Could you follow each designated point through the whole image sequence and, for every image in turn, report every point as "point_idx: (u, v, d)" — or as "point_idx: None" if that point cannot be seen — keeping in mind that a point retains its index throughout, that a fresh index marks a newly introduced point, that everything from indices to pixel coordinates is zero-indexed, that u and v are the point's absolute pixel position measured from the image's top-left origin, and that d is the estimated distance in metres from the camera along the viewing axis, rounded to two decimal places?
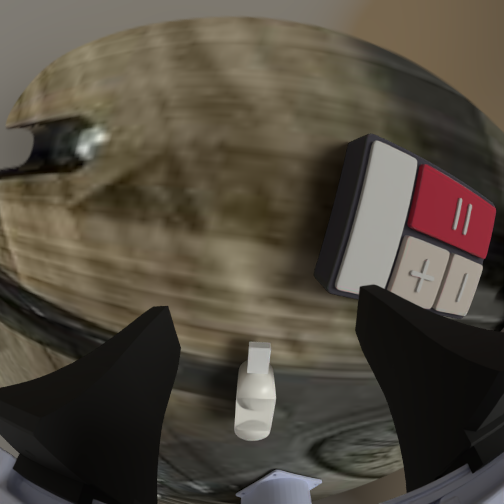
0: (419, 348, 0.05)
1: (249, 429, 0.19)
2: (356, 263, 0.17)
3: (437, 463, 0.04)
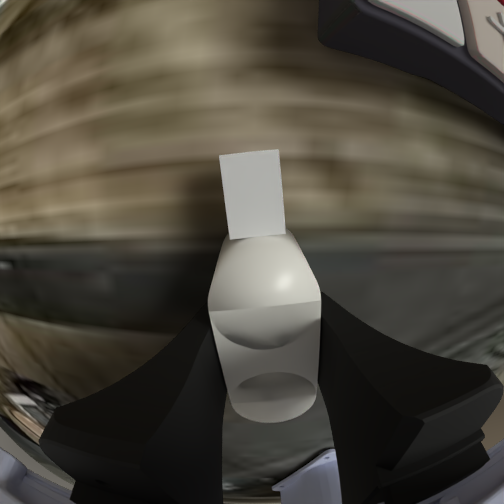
0: (344, 366, 0.06)
1: (266, 398, 0.08)
2: None
3: (359, 492, 0.04)
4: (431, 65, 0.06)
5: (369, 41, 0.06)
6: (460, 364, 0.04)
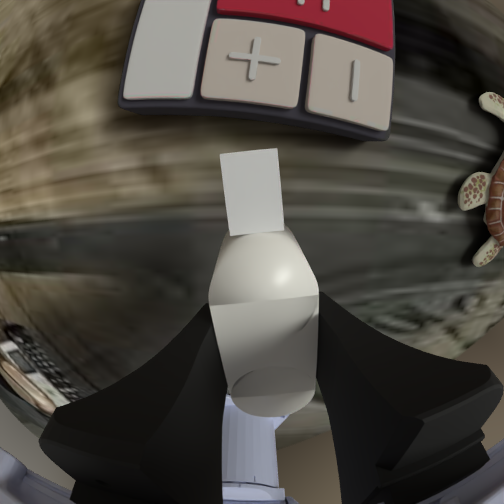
0: (344, 366, 0.06)
1: (266, 392, 0.09)
2: (144, 64, 0.11)
3: (359, 492, 0.04)
4: (190, 112, 0.13)
5: (148, 112, 0.13)
6: (460, 364, 0.04)
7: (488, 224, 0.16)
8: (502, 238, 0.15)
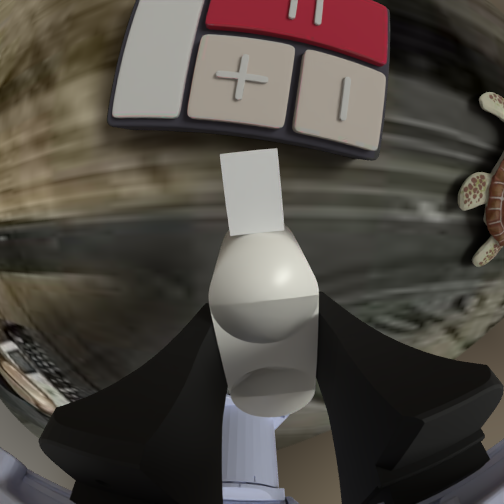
0: (344, 366, 0.06)
1: (266, 392, 0.09)
2: (132, 81, 0.11)
3: (359, 492, 0.04)
4: (178, 130, 0.14)
5: (137, 128, 0.14)
6: (460, 364, 0.04)
7: (488, 224, 0.16)
8: (502, 238, 0.15)
